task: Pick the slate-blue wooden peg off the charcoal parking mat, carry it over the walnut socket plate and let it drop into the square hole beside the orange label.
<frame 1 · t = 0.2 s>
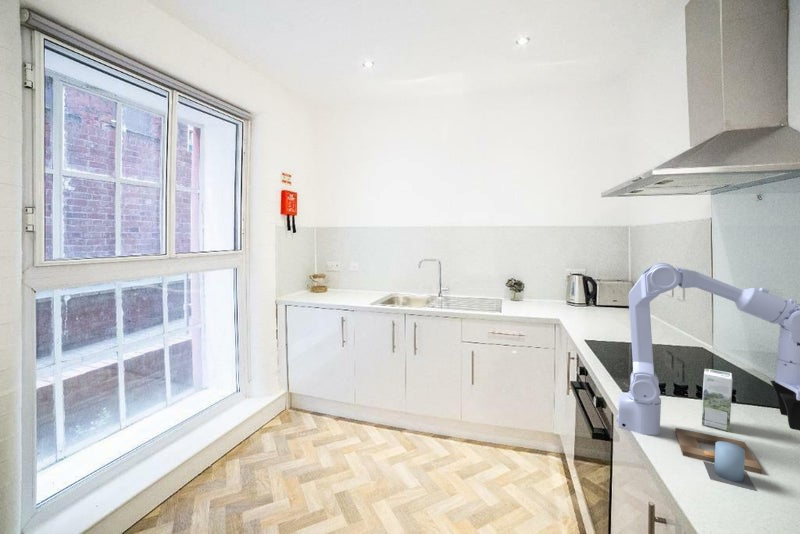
hand: (792, 422, 78), 10 cm above the counter, tool pointing down, fingers open, 7 cm apart
parking mat: (728, 479, 74), on the counter
syrup box: (715, 425, 97), on the counter
socket plate: (713, 454, 83), on the counter
peg: (728, 475, 74), point 1 cm above the counter, touching parking mat
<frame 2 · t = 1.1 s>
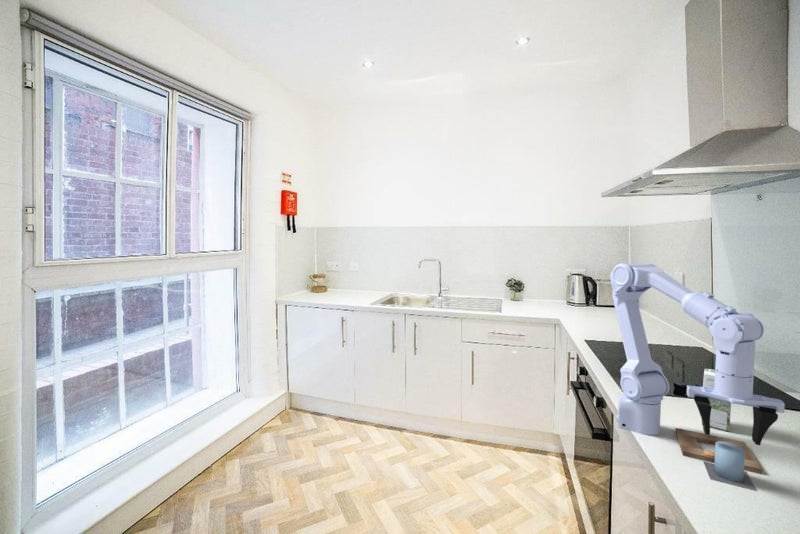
hand: (730, 437, 74), 9 cm above the counter, tool pointing down, fingers open, 7 cm apart
nothing on the counter moved.
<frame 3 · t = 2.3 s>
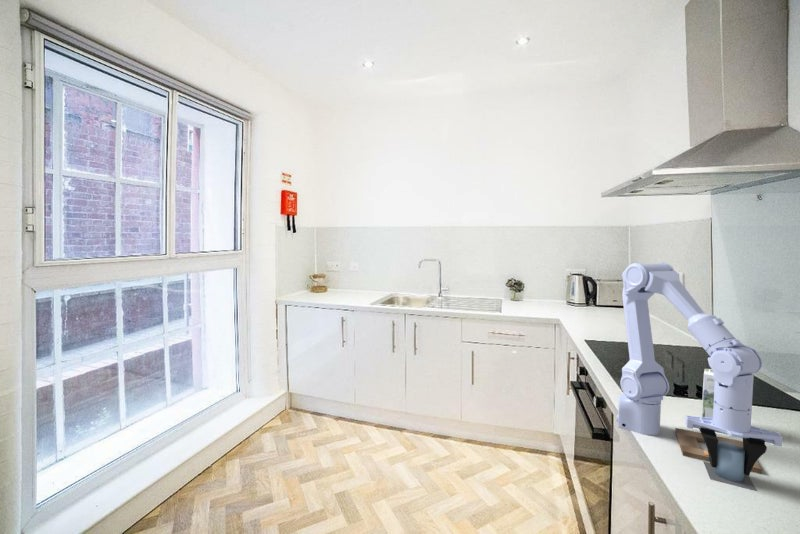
hand: (728, 468, 74), 2 cm above the counter, tool pointing down, fingers closed on peg, 4 cm apart
peg: (728, 475, 74), point 1 cm above the counter, touching gripper, parking mat
everything else where it was.
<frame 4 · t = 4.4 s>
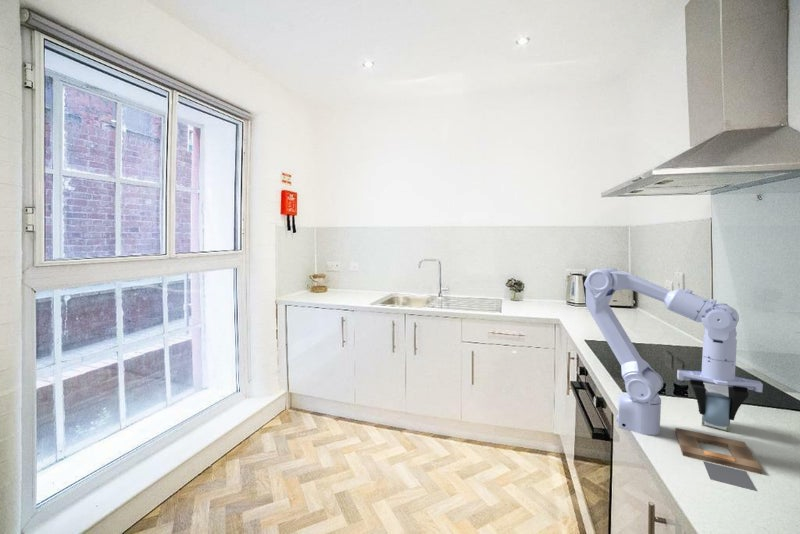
hand: (715, 415, 82), 9 cm above the counter, tool pointing down, fingers closed on peg, 4 cm apart
peg: (715, 421, 82), point 8 cm above the counter, touching gripper
everything else where it was.
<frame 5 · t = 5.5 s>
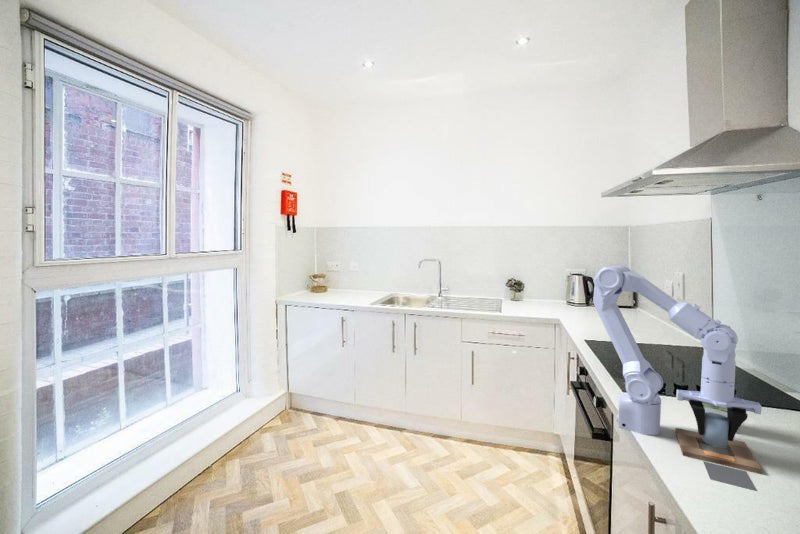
hand: (714, 436, 83), 4 cm above the counter, tool pointing down, fingers closed on peg, 4 cm apart
peg: (714, 442, 83), point 3 cm above the counter, touching gripper
everything else where it was.
when the fingers open (4 cm above the counter, at t = 6.4 s): peg drops 3 cm, resting in socket plate.
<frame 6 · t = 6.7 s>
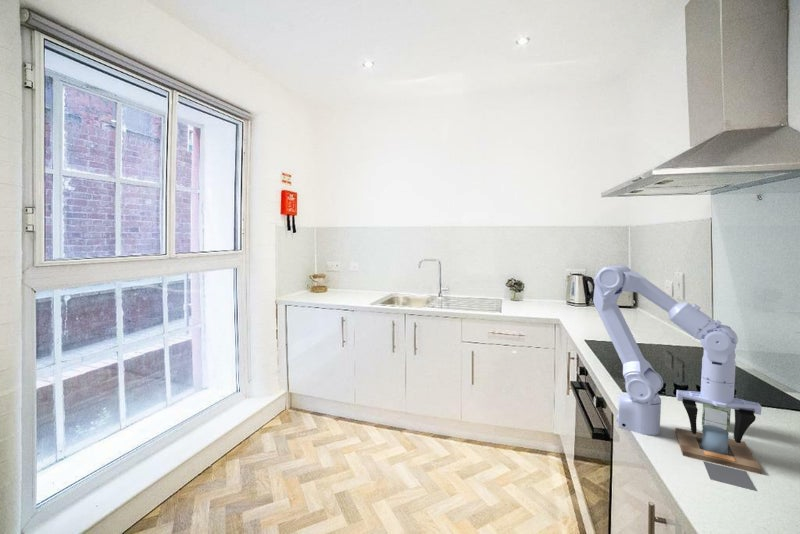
hand: (714, 436, 83), 4 cm above the counter, tool pointing down, fingers open, 7 cm apart
peg: (714, 455, 83), resting in socket plate
everything else where it was.
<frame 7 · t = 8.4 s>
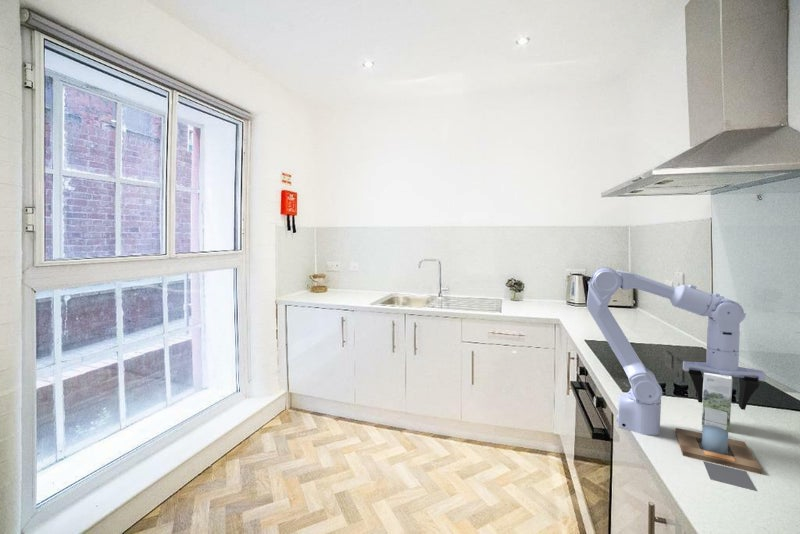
hand: (720, 404, 86), 10 cm above the counter, tool pointing down, fingers open, 7 cm apart
nothing on the counter moved.
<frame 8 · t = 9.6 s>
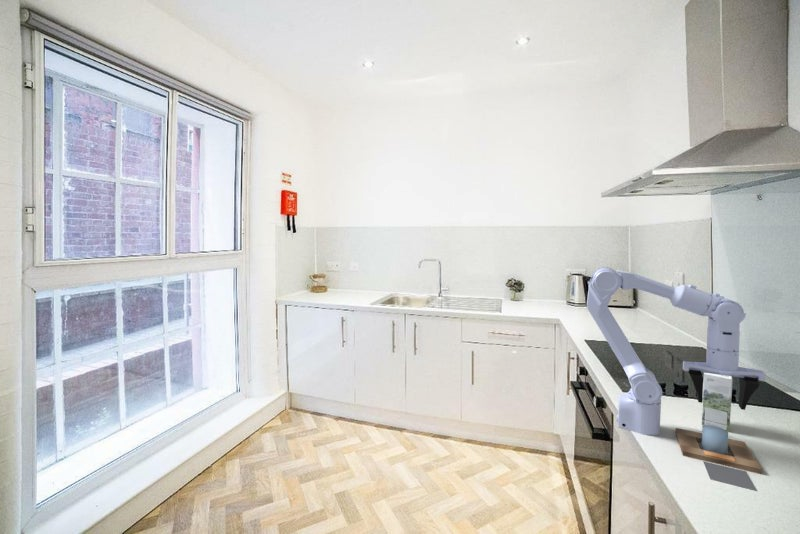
hand: (720, 404, 86), 10 cm above the counter, tool pointing down, fingers open, 7 cm apart
nothing on the counter moved.
at the end: peg 0.0 cm from the socket plate (horizontally); peg resting in socket plate; peg tilted 0° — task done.
